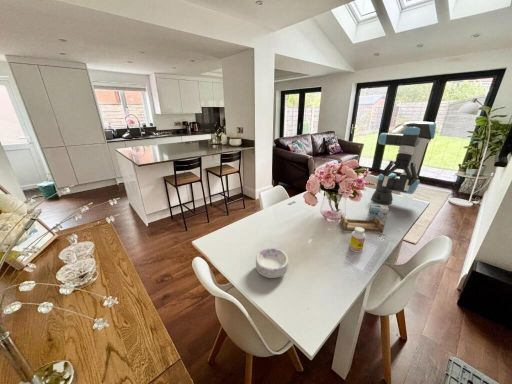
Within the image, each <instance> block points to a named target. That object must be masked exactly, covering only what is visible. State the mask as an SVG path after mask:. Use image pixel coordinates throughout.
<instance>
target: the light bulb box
mask: <svg viewBox="0 0 512 384" xmlns="http://www.w3.org/2000/svg"><path fill="white" fill-rule="evenodd" d="M368 208H369V209H368V213H367V220H374V217H375V216H377V217H378V218H379V219H380V220H381V221H382V223H383V224H384V225H386V222H387V218H388V215H389V212H390V211H389V210H390V209H389V206H388V205H387V204H380V203H371V202H370V205H369V207H368Z"/></svg>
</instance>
